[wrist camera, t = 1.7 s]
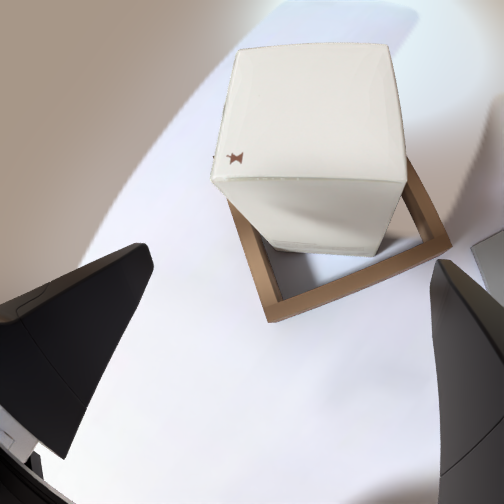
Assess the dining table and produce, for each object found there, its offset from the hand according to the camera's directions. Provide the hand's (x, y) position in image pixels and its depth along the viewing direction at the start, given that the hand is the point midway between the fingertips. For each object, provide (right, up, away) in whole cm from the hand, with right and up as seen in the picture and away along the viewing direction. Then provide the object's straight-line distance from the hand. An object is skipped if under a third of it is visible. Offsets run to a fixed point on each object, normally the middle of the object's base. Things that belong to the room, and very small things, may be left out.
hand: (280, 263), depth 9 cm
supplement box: (+5, +4, +14) cm, 15 cm away
